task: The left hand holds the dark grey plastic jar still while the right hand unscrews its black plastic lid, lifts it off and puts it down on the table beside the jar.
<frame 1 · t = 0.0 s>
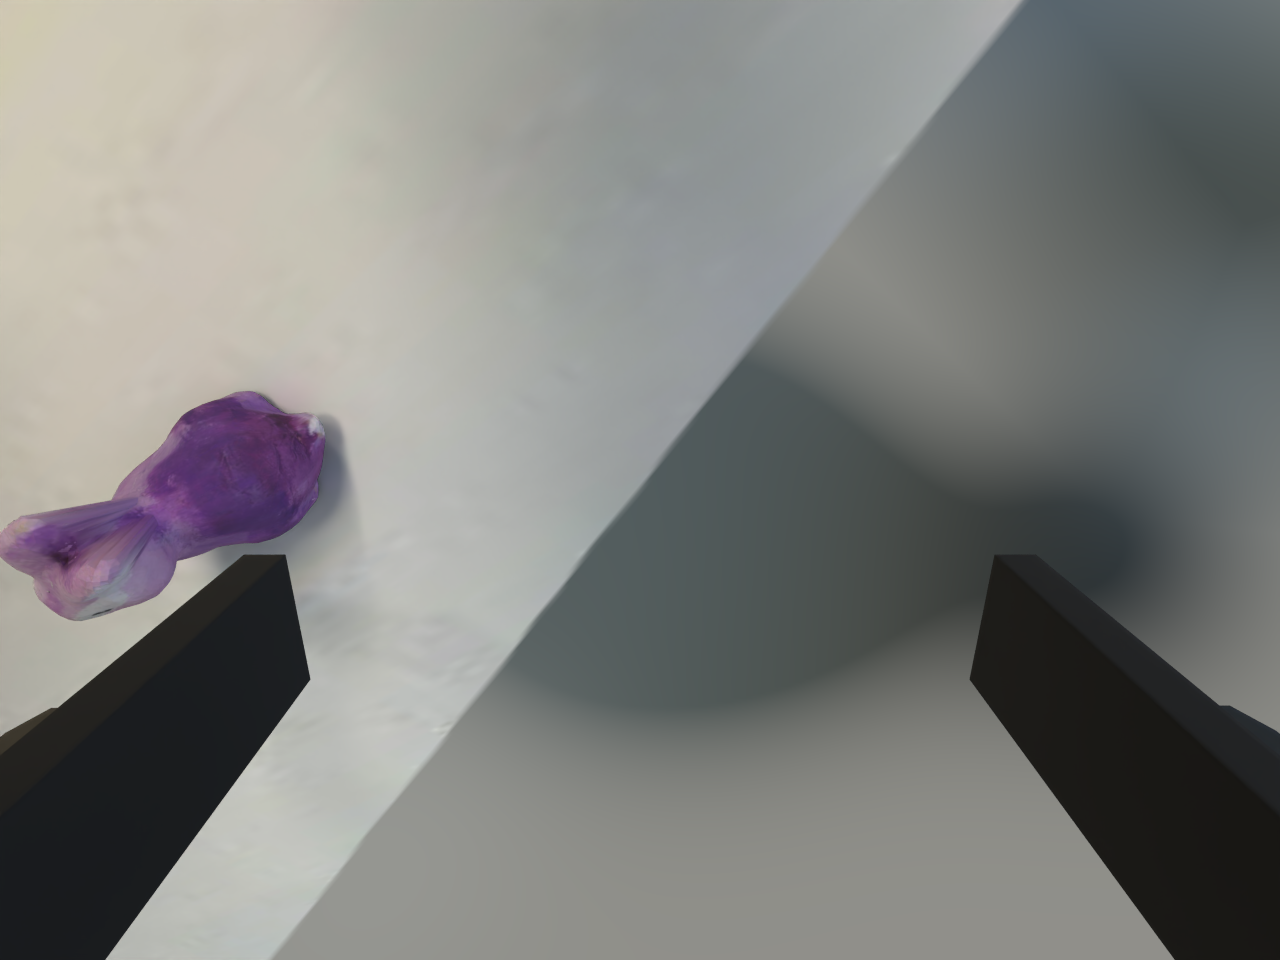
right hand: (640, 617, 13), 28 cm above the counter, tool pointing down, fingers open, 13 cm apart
figurine: (257, 468, 41), on the counter
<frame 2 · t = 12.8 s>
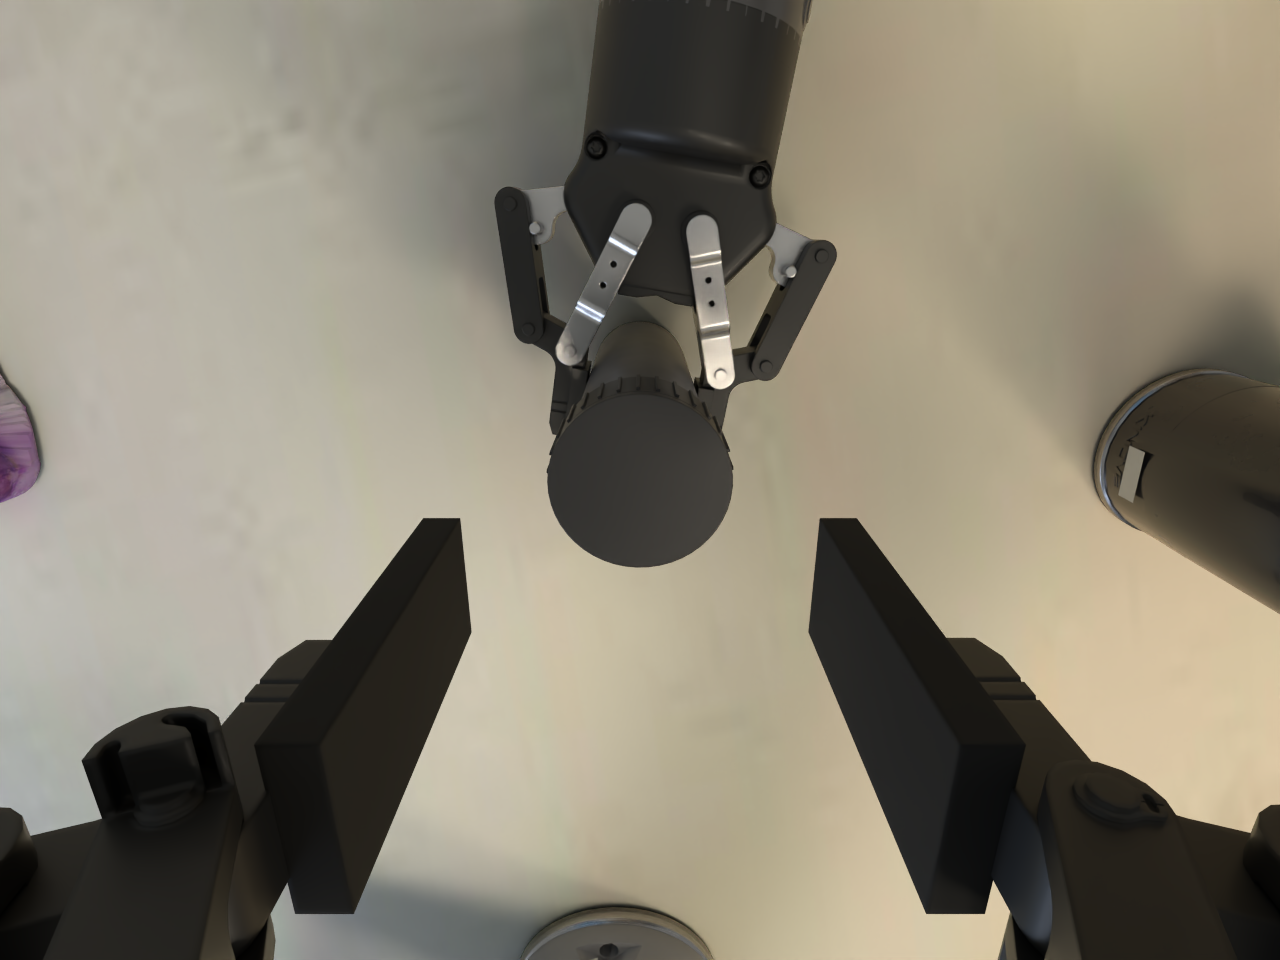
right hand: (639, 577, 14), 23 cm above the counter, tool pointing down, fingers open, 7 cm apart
left hand: (630, 452, 31), fingers closed on jar, 4 cm apart
lid: (640, 480, 20), point 18 cm above the counter, screwed on, not yet turned
jar: (640, 366, 36), on the counter, touching left hand
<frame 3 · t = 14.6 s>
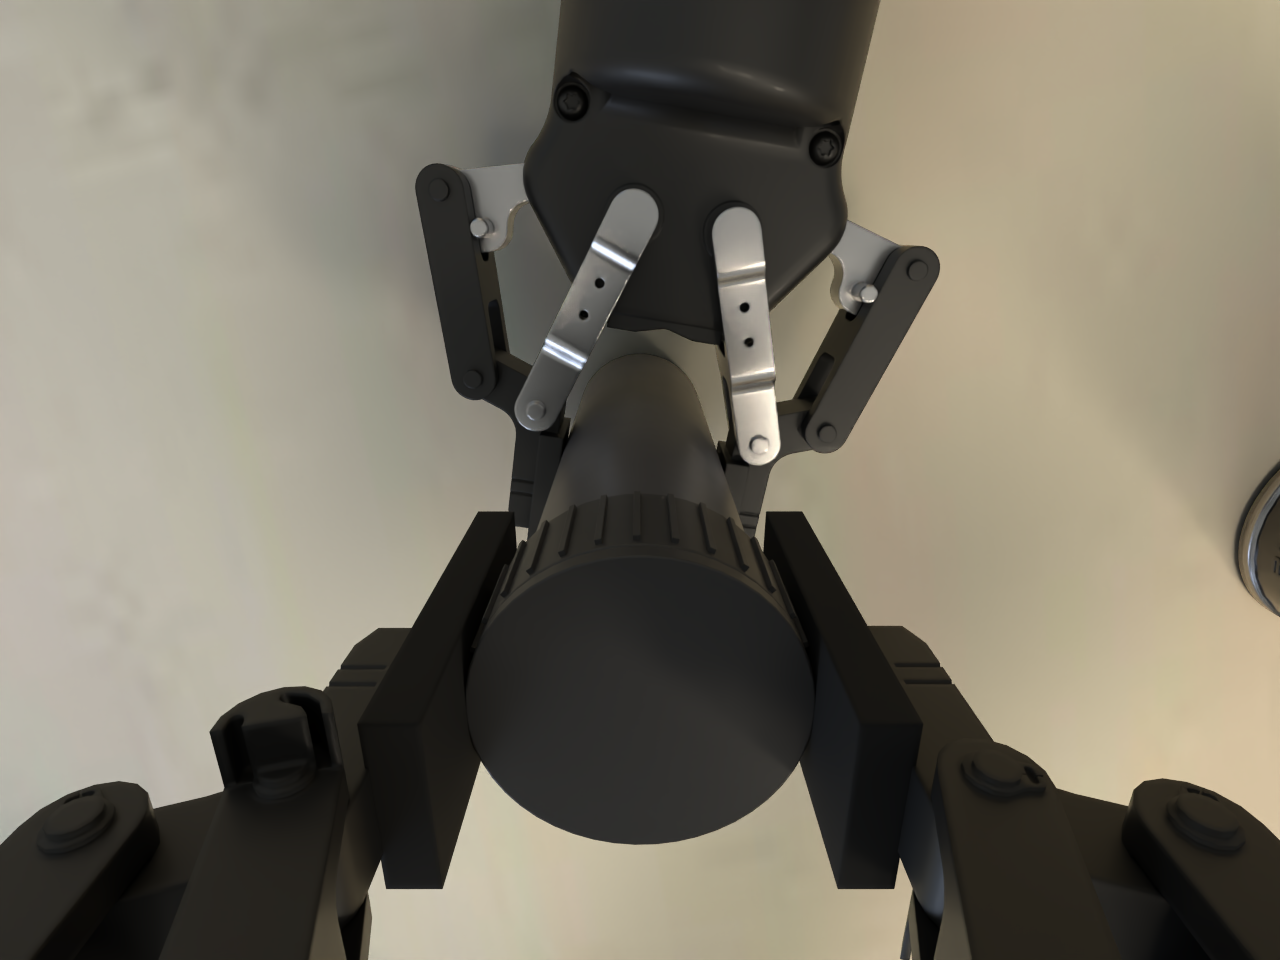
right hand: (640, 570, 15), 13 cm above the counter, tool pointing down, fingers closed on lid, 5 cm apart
left hand: (626, 547, 22), fingers closed on jar, 4 cm apart
lid: (640, 698, 11), point 18 cm above the counter, screwed on, not yet turned, touching right hand
jar: (640, 413, 27), on the counter, touching left hand
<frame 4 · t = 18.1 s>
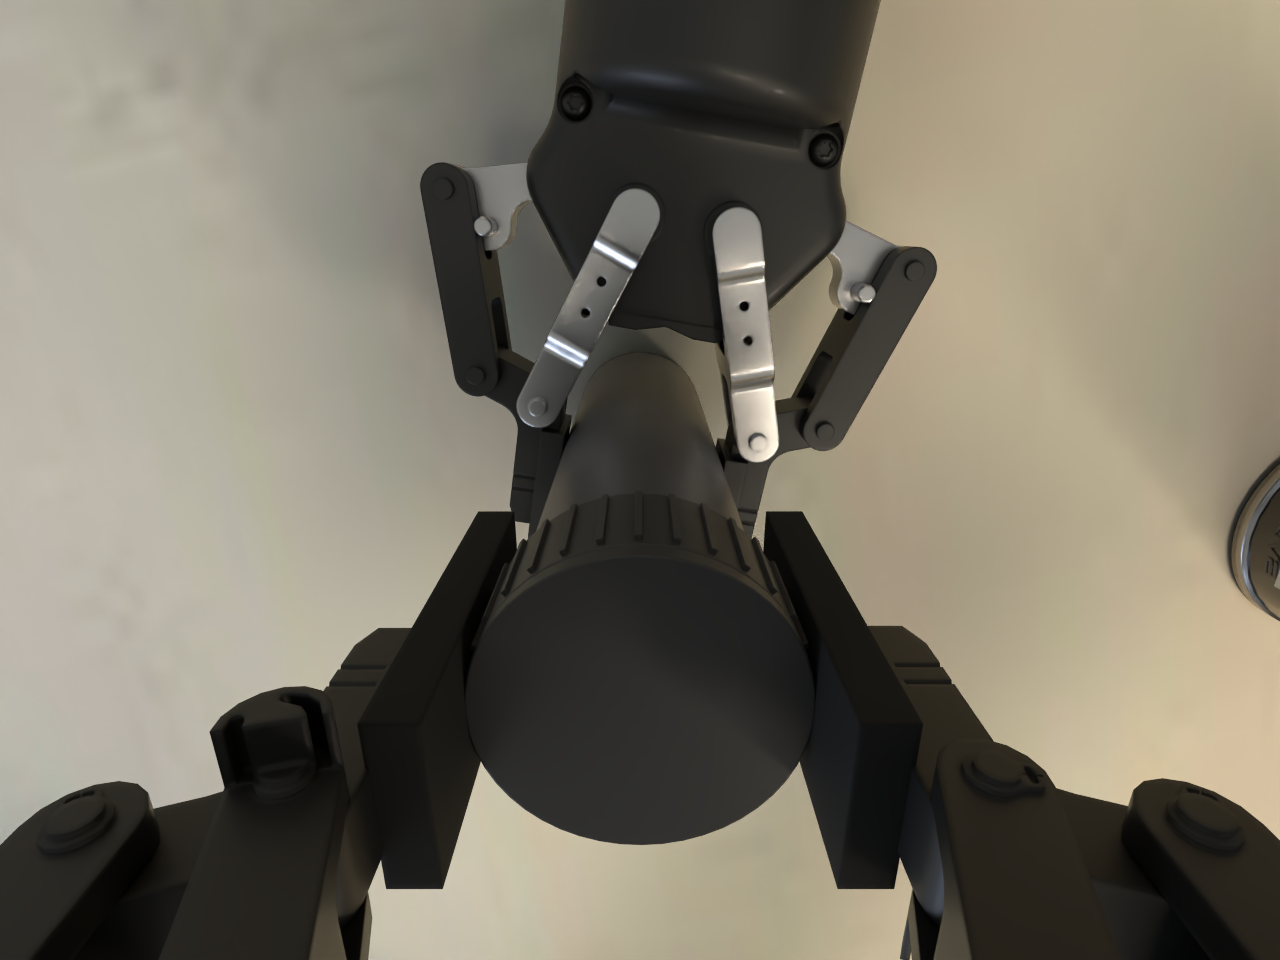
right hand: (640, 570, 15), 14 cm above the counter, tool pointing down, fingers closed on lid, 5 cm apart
left hand: (625, 542, 22), fingers closed on jar, 4 cm apart
lid: (640, 698, 11), point 18 cm above the counter, turned 108° so far, risen 0.3 cm, still on its thread, touching right hand
jar: (640, 411, 27), on the counter, touching left hand
when the right hand's fingers open (0 cm above the counter, at t = 25.8 s): lid drops 2 cm, point 2 cm above the counter.
when the left hand's fingers open (7 cm above the counter, at t = 26.4 s): jar stays where it is, on the counter.
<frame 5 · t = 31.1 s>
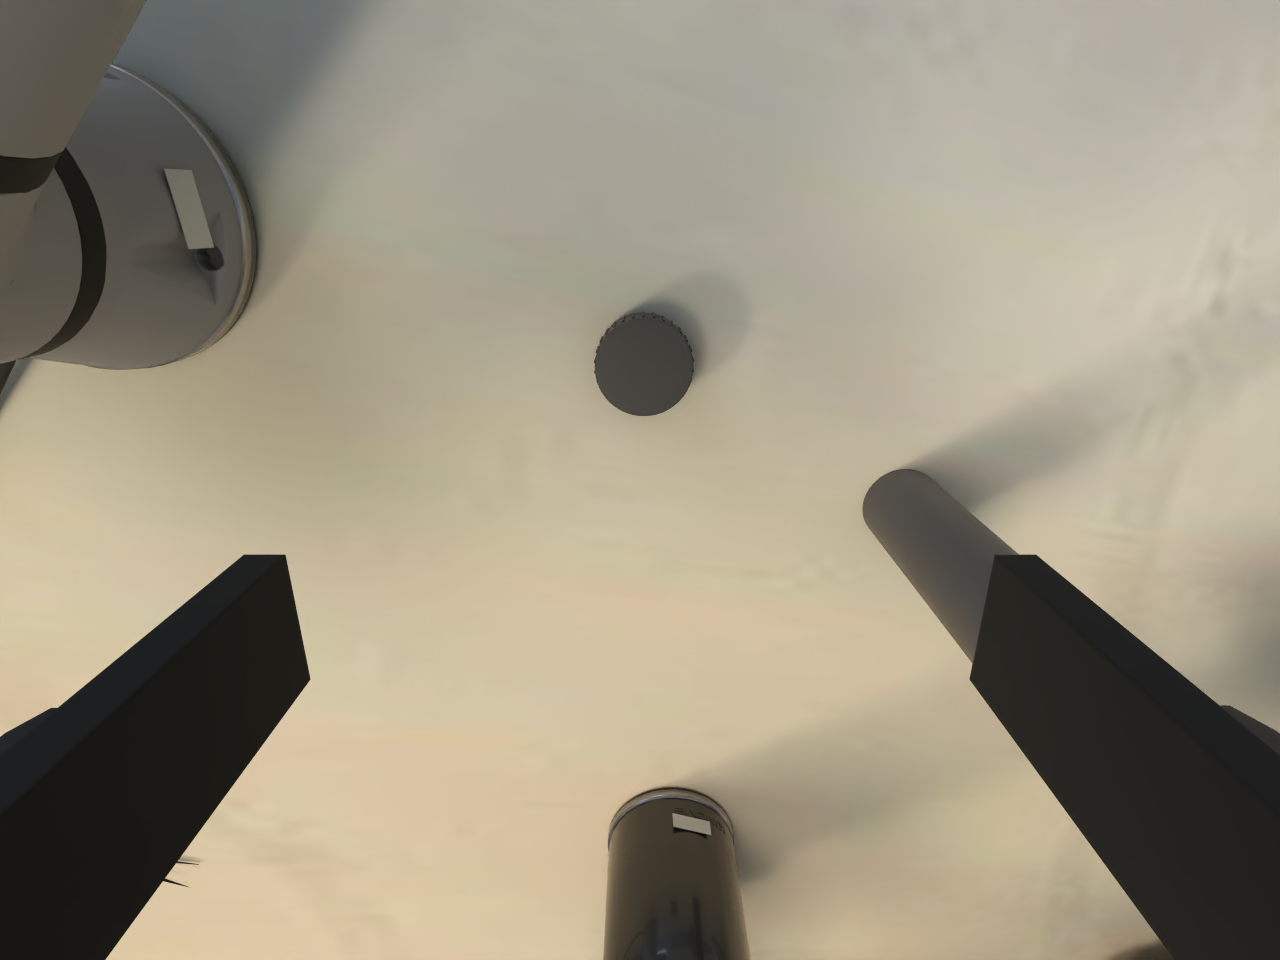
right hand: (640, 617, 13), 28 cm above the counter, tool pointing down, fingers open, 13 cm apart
lid: (644, 367, 37), point 2 cm above the counter, off its thread
jar: (900, 505, 42), on the counter
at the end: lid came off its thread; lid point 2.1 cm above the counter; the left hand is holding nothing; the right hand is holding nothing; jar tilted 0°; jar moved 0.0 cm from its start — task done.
